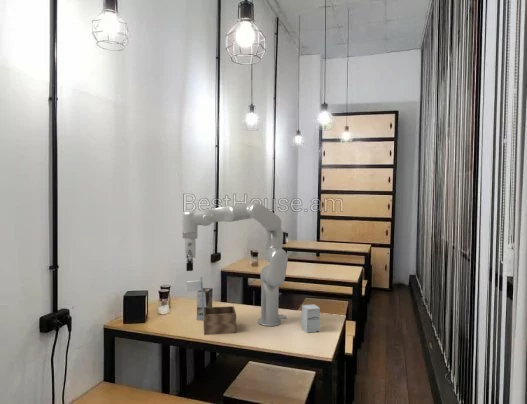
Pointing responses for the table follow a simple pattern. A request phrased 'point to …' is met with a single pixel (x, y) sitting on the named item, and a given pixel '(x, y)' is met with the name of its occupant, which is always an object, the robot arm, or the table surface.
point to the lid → (196, 288)
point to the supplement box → (310, 318)
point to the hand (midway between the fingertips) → (189, 268)
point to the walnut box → (219, 320)
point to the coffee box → (207, 301)
